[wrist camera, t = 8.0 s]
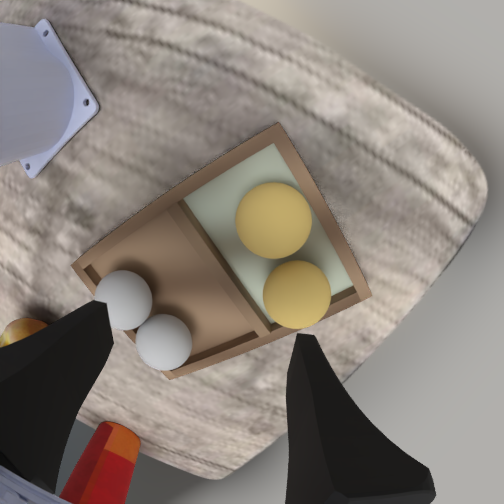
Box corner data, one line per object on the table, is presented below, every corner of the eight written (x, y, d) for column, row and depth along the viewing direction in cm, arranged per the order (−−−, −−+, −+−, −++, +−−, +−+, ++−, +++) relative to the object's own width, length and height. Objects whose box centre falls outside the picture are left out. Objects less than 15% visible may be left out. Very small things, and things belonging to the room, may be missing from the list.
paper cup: (98, 440, 34) (63, 522, 21) (85, 408, 31) (39, 501, 18) (153, 457, 34) (125, 546, 21) (146, 427, 31) (109, 532, 18)
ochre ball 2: (252, 267, 20) (246, 302, 17) (309, 238, 19) (315, 268, 16) (283, 312, 22) (283, 352, 18) (336, 287, 21) (346, 325, 17)
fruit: (74, 312, 25) (25, 373, 17) (87, 376, 28) (54, 434, 21) (14, 291, 25) (-36, 339, 17) (32, 354, 28) (-5, 402, 21)
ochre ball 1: (223, 251, 18) (264, 280, 15) (219, 181, 17) (264, 196, 14) (279, 236, 20) (325, 259, 17) (280, 173, 19) (329, 185, 16)
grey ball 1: (92, 269, 21) (76, 317, 18) (128, 249, 20) (112, 302, 17) (131, 298, 24) (120, 344, 21) (168, 283, 22) (159, 334, 19)
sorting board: (80, 256, 22) (69, 266, 20) (278, 121, 17) (278, 122, 16) (174, 367, 26) (168, 381, 24) (367, 284, 21) (373, 297, 19)
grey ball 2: (145, 321, 24) (114, 337, 20) (182, 298, 23) (153, 312, 19) (172, 365, 24) (145, 387, 20) (211, 345, 23) (187, 368, 19)
